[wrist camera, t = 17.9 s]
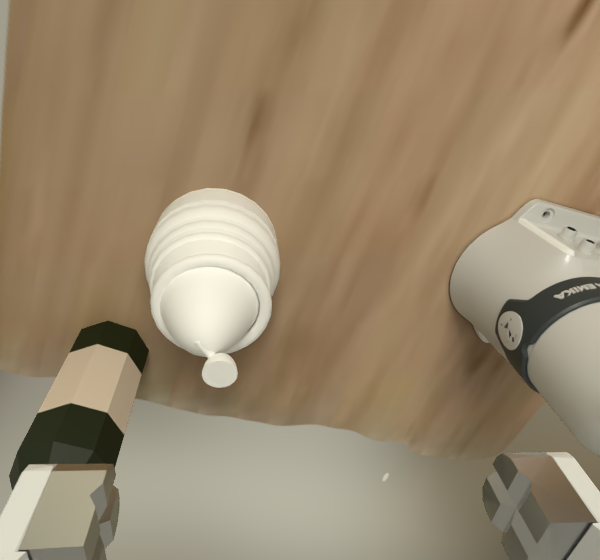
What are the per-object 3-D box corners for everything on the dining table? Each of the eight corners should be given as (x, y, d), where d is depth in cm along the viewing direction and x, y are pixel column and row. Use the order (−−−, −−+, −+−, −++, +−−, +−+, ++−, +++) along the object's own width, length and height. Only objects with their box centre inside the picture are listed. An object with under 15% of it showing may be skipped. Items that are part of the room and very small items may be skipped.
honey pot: (300, 258, 49) (325, 369, 34) (206, 316, 52) (190, 444, 36) (228, 162, 43) (218, 244, 27) (126, 233, 45) (65, 345, 30)
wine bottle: (79, 376, 54) (-72, 704, 28) (68, 320, 50) (-120, 643, 24) (150, 376, 55) (68, 691, 29) (146, 321, 51) (45, 631, 25)
